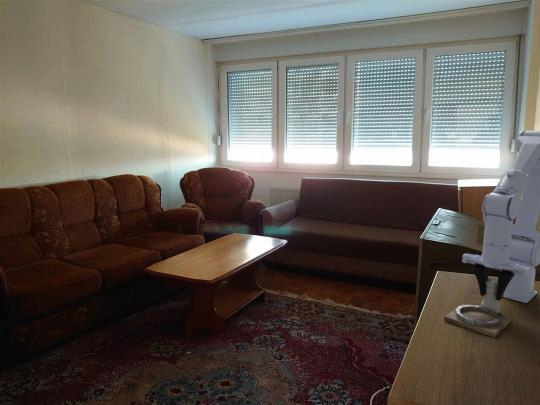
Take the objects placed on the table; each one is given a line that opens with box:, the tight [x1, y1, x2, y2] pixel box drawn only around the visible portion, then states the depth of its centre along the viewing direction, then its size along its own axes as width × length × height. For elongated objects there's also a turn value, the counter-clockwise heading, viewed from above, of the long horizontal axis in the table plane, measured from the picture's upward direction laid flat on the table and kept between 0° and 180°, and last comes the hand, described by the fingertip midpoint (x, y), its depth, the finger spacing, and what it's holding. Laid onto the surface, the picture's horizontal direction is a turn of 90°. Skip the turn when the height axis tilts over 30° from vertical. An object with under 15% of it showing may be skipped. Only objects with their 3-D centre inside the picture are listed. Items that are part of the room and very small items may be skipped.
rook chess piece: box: [480, 277, 501, 314], centre depth 103 cm, size 4×4×8 cm
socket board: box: [443, 303, 512, 338], centre depth 98 cm, size 10×11×2 cm
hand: (491, 296), depth 103 cm, fingers closed on rook chess piece, 3 cm apart
